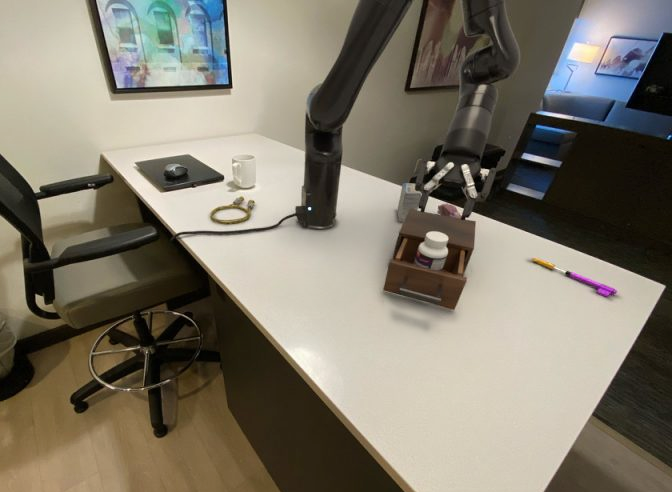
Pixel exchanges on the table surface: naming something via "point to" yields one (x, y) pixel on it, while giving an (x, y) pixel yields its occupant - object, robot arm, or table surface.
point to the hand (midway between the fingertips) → (442, 214)
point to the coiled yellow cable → (237, 201)
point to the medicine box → (408, 200)
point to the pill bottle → (432, 251)
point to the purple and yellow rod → (582, 279)
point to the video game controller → (448, 211)
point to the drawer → (426, 276)
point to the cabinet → (454, 228)
